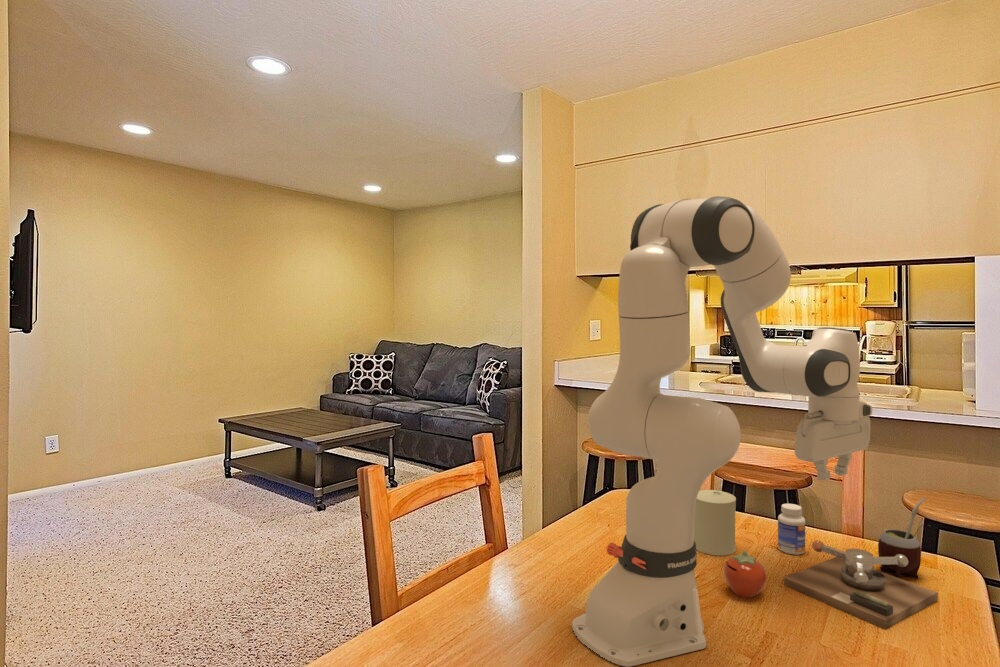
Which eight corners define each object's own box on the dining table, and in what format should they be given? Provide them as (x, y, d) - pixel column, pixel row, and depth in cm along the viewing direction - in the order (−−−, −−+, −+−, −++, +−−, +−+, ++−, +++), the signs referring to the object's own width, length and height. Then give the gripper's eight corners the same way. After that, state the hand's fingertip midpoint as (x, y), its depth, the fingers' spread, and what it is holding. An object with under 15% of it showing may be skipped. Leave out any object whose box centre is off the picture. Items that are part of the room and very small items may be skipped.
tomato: (716, 584, 112) (716, 543, 112) (753, 582, 113) (753, 542, 113) (735, 603, 105) (735, 560, 104) (774, 601, 106) (775, 558, 105)
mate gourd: (876, 575, 115) (877, 501, 114) (879, 561, 121) (881, 490, 121) (922, 586, 111) (924, 508, 110) (923, 571, 117) (925, 497, 116)
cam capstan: (863, 606, 100) (864, 574, 100) (788, 574, 112) (788, 546, 112) (910, 583, 108) (910, 553, 108) (835, 556, 120) (835, 529, 120)
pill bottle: (802, 557, 124) (803, 512, 123) (775, 551, 127) (775, 507, 126) (807, 548, 128) (807, 505, 128) (780, 543, 131) (781, 500, 131)
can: (739, 544, 131) (740, 491, 130) (731, 559, 123) (731, 503, 123) (697, 535, 136) (697, 485, 135) (687, 550, 128) (687, 496, 128)
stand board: (884, 629, 96) (885, 608, 96) (783, 585, 112) (784, 567, 111) (937, 600, 105) (938, 581, 105) (837, 563, 121) (838, 546, 121)
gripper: (818, 416, 108) (817, 490, 109) (877, 406, 118) (876, 473, 119) (786, 411, 113) (785, 481, 114) (845, 401, 124) (844, 466, 124)
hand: (832, 477), depth 117 cm, fingers open, 5 cm apart
